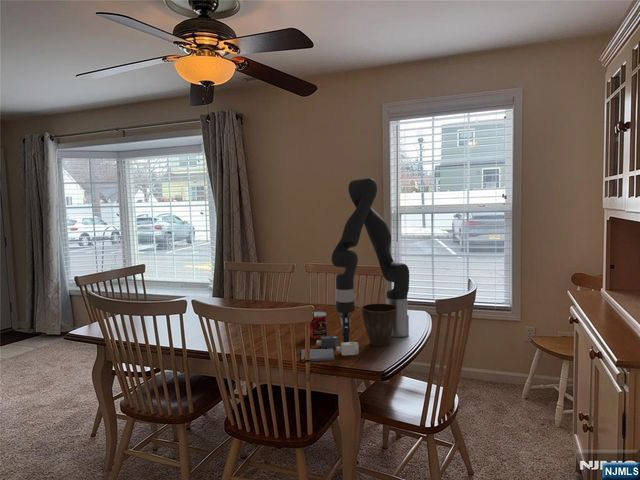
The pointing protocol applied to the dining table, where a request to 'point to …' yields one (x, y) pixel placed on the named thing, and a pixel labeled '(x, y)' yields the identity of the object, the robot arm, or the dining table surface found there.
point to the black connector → (328, 342)
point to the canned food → (318, 325)
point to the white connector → (349, 348)
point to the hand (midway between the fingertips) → (345, 338)
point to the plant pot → (379, 322)
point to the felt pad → (319, 354)
